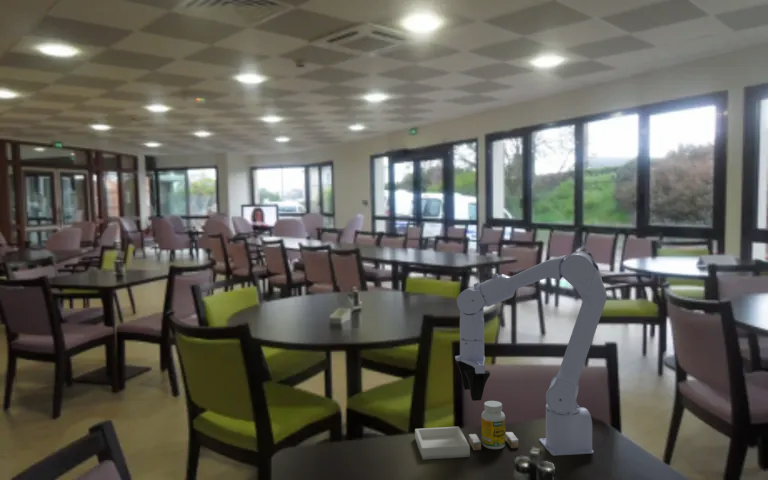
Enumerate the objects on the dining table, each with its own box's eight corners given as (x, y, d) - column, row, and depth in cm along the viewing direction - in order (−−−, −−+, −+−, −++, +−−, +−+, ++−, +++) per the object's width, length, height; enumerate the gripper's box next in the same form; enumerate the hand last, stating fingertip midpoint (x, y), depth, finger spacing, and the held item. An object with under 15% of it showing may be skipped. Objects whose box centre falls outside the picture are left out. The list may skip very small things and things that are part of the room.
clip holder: (512, 439, 126) (512, 431, 126) (518, 447, 122) (518, 439, 122) (469, 441, 125) (468, 434, 125) (473, 450, 121) (473, 442, 121)
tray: (458, 436, 128) (458, 426, 128) (469, 456, 118) (469, 445, 118) (415, 439, 127) (415, 428, 127) (422, 459, 117) (422, 448, 117)
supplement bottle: (493, 437, 127) (493, 397, 127) (510, 445, 123) (510, 404, 122) (476, 443, 124) (476, 402, 124) (493, 452, 120) (493, 409, 119)
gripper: (448, 331, 136) (449, 385, 137) (462, 346, 121) (463, 406, 122) (476, 330, 136) (476, 384, 137) (493, 345, 122) (493, 404, 123)
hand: (472, 394), depth 130 cm, fingers open, 7 cm apart
